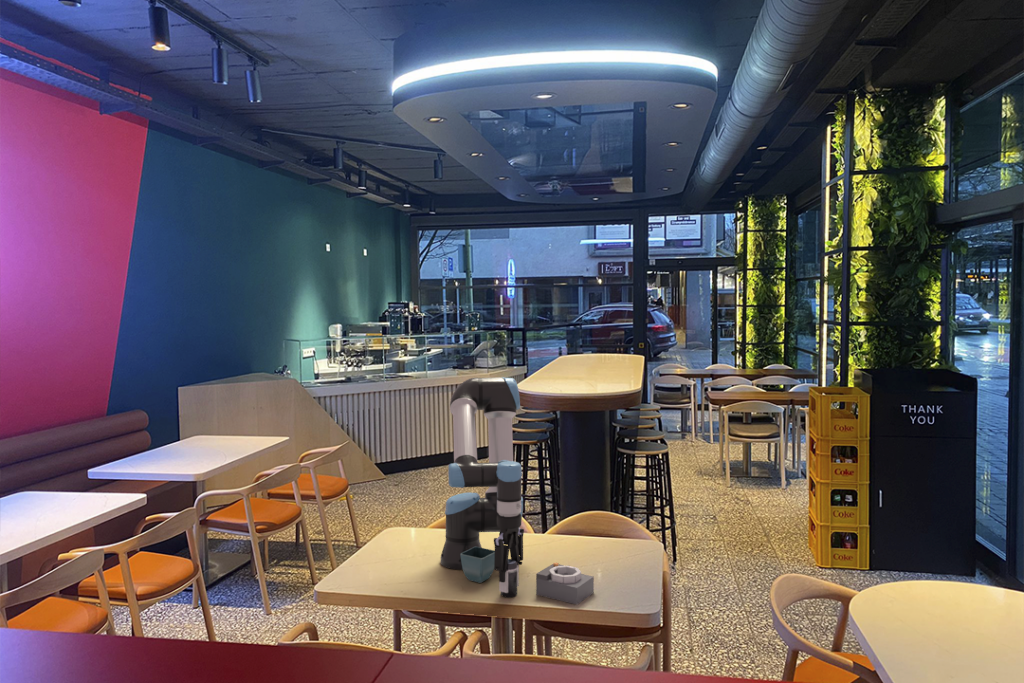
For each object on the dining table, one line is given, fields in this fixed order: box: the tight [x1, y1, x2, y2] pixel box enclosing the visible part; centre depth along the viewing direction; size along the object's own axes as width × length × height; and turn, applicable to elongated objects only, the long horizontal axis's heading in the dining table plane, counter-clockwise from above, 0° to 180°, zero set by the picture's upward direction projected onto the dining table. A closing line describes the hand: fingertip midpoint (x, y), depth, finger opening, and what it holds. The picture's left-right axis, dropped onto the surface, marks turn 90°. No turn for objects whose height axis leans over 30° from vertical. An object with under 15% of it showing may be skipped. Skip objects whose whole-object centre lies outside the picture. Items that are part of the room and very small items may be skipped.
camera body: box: [535, 562, 595, 606], centre depth 218 cm, size 14×11×7 cm
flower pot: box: [460, 546, 495, 583], centre depth 229 cm, size 9×9×9 cm
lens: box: [500, 558, 518, 598], centre depth 217 cm, size 5×5×10 cm
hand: (509, 588), depth 217 cm, fingers closed on lens, 5 cm apart
